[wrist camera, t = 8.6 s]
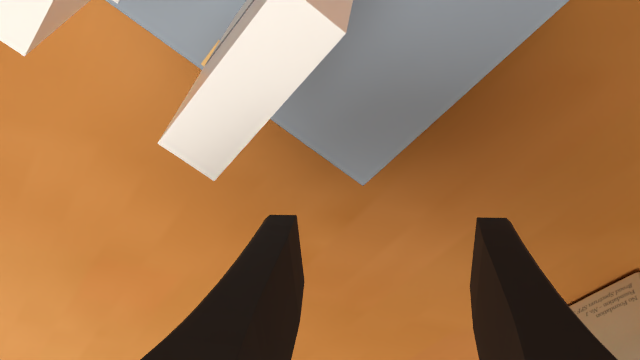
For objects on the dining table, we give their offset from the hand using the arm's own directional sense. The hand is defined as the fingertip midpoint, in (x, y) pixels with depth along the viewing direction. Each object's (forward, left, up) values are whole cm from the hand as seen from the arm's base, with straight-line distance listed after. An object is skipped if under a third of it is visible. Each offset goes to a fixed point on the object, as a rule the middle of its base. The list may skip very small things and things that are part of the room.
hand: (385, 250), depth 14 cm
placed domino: (+4, 0, -9) cm, 10 cm away
